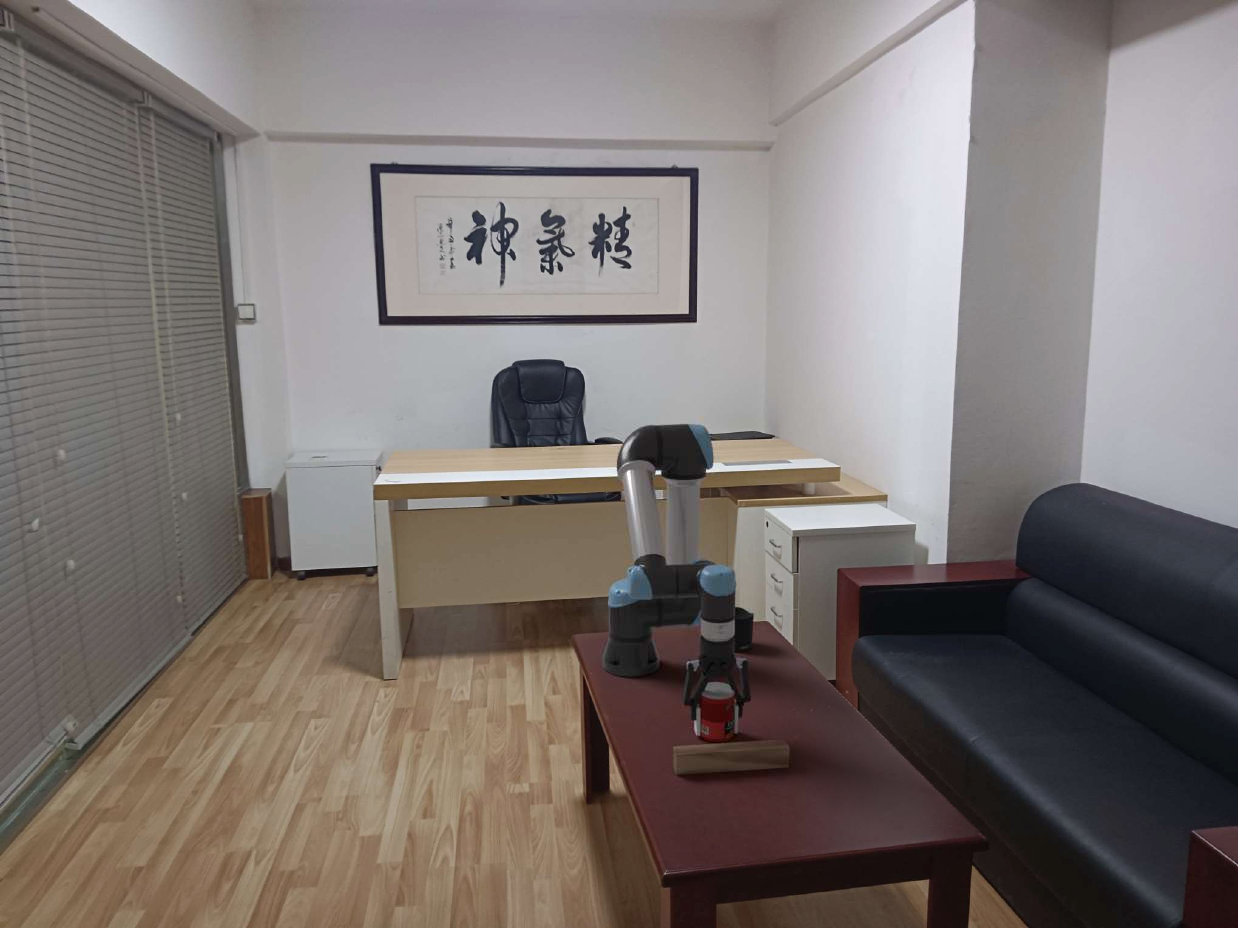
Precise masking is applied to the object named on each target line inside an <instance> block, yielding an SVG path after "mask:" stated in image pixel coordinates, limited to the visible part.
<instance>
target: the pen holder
mask: <svg viewBox="0 0 1238 928" xmlns="http://www.w3.org/2000/svg"><path fill="white" fill-rule="evenodd" d="M754 615H755V614H754V612H750V611H748V610H746V609H745V608H744V607H740V606H735V634H734V636H733V637H734V639H735V643H734V653H743V652H747V651H749V650H751V648H752V645H753V635H754V634H753V633H754V620H755V619H754V617H755V616H754Z"/></svg>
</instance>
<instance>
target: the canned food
mask: <svg viewBox="0 0 1238 928" xmlns="http://www.w3.org/2000/svg"><path fill="white" fill-rule="evenodd" d="M735 700H736V699H735V696H734V690H733V691H732V689H731V687H730V686H729V683H728V684H727V683H725V682H719V681H711V682H710V681H709V682H708V683H707V686H706V688H705V690H704V692H702V697H701V699H700V701H699V703H698V704H699V706H700V738H702V739H703V740H705V741H708V742H711V743H712V742H713V743H725V742H728V741H729V740H731V739H732V737H733V736H734V734H735V733H734V701H735Z"/></svg>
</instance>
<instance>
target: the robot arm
mask: <svg viewBox="0 0 1238 928" xmlns="http://www.w3.org/2000/svg"><path fill="white" fill-rule="evenodd" d="M713 448H714V447H713V443H712V439H711V436H710V433H709V430H708V429H707V428H706V427H705V425H702V424H696V423H695V424H693V423H679V424H678V423H677V424H675V423H674V424H658V425H656V424H649V425H643V426H641V427H639V428H637V429H635V430H634V431H632V432H631V433H630V434H629V435H628V436H627V437H626V439H625V440H624V442H623V443H622V444H621V447H620V448H619V452H618V455H617V459H616V473H617V477H618V480H619V481H621V483H622V488H623V495H624V501H625V508H626V509H625V510H626V516H627V522H628V530H629V536H630V537H629V539H630V543H631V544H630V546H631V553H632V560H633V561H632V562H633V566H629V567H628V568H627V570H626V578H623V579H619V580H617V581H616V582H615V583H613V584H612V585H611V586H610V588H609V590H608V602H607V605H608V639H607V643H606V646H605V649H604V652H603V655H602V667H603V669H604V670H605V671H606V672H607V673H609V674H612V675H615V676H619V677H630V678H631V677H633V678H635V677H643V676H647V675H650V674H653V673H654V672H656V671H658V669H659V668H660V656H659V652H658V650H657V646H656V644H655V641H654V640H655V639H653V638H654V637H653V636H654V635H653V633H654V629H660V628H681V627H684V628H685V627H687V628H690V627H694V626H700V628H699V629H700V631H699V632H700V638H699V639H700V641H699V642H700V643H699V647H700V648H699V656H698V658H697V659H695V660H690V659H686V660H685V666H686V674H685V679H684V685H683V691H682V697H681V701H682V703H683V705H684V706H686V707H688V706H689V717H690V719H691V721H693V723H694V727H693V729H694V730H693V731H694V733H695V735H696V736H698V737H699V736H700V706H699V701H700V699H701V697H702V692H704V690H705V688H706V686H707V683H709V682H710V681H711V679H713V678H717V677H720V678H726V681H727V683H728V685H729V686H730V687H731V689H732V691H733V690H734V696H735V699H734V733H733V734H738V733H739V718H743V713H744V712H743V710H744V706H745V703H749V702H751V701H752V696H751V690H750V684H749V677H748V667H749V661H748V660H747V659H746V657H745V656H741V657H736V656H735V652H734V643H735V639H734V637H733V636H734V634H735V607H736V591H737V590H736V588H737V581H736V580H737V579H736V571H735V570H734V569H733V568H732V567H731V566H728V565H723V564H717V563H714V562H713V561H712V560H711V559H708V558H700V506H701V503H700V502H701V499H700V498H701V483H702V482H703V481H704V480H705V479H706V477H707V471H708V470H711V469H713V467H714V459H715V458H714V449H713ZM657 472H660V477H661V478H662V480H664V481H665V482H666V531H665V532H666V540H665V541H666V545H664V540H663V539H664V538H663V532H662V527H661V520H660V513H659V507H658V501H657V495H656V490H655V483H654V477H655V476H656V473H657ZM665 546H666V550H665ZM735 664H736V667H737V668H738V671H739V676H740V682H741V683H740V684H741V689H742V695H741V694H740V692H739V689H738V687H737V684H736V683H735V680H734V678H733V676H732V673H731V670H732V669H733V667H734V666H735ZM699 666H700V668H701V669H702V671H701V673H700V677H699V679H698V681H697V684H696V686H695V687H694V686H693V685H694V682H695V681H694V680H695V672H696V671H698V667H699ZM693 687H694V691H692V690H693ZM700 737H701V736H700Z"/></svg>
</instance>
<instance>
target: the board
mask: <svg viewBox="0 0 1238 928" xmlns="http://www.w3.org/2000/svg"><path fill="white" fill-rule="evenodd" d="M790 748H791V747H790V745H789V744H788V743H787V741H786V739H783V738H781V739H768V740H767V739H766V740H753V741H751V740H750V741H737V742H736V741H735V742H718V743H705V744H692V745H677V746H675V745H674V746H672V768H673V770H674V773H675V775H676V776H680V775H694V774H695V775H699V774H711V773H723V772H724V773H725V772H726V773H727V772H737V771H738V772H739V771H752V770H767V769H782V768H783V769H784V768H789V767H790Z"/></svg>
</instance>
